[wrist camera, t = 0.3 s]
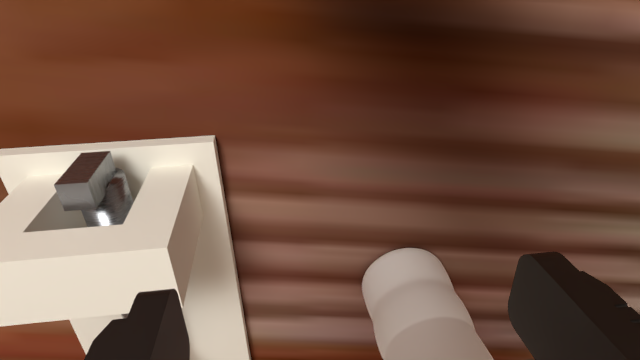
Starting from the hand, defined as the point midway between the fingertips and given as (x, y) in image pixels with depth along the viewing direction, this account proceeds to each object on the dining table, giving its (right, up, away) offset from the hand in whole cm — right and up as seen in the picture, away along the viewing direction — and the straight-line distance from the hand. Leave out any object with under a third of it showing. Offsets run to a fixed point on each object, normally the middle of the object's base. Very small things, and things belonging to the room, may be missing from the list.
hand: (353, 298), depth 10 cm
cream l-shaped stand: (-14, -6, +23) cm, 27 cm away
